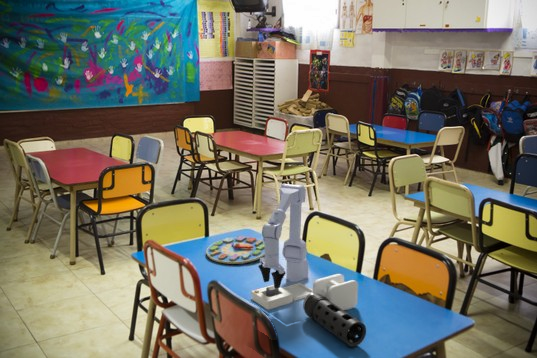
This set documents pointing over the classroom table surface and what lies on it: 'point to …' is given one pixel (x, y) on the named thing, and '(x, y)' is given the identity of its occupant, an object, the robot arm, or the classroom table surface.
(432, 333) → the classroom table surface
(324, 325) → the muzzle brake
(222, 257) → the shape sorting clock
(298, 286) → the tray
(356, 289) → the cable organizer
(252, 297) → the socket block
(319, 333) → the classroom table surface
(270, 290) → the plug
